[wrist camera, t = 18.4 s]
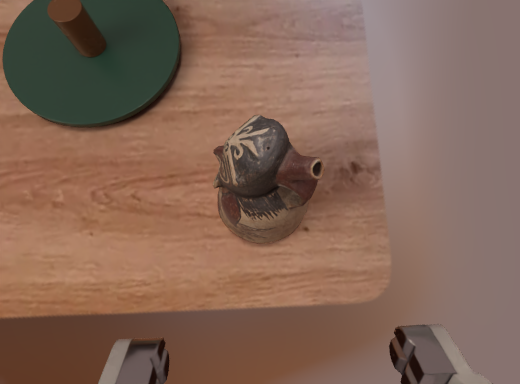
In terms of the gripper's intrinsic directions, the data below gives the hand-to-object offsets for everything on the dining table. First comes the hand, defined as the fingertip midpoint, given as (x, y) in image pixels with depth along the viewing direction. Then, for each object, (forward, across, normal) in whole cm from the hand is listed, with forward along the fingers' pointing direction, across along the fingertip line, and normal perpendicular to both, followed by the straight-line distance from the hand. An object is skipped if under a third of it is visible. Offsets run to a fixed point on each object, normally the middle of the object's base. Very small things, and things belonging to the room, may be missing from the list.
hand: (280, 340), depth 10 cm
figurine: (+15, 0, +4) cm, 15 cm away
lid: (+24, +15, -7) cm, 30 cm away
